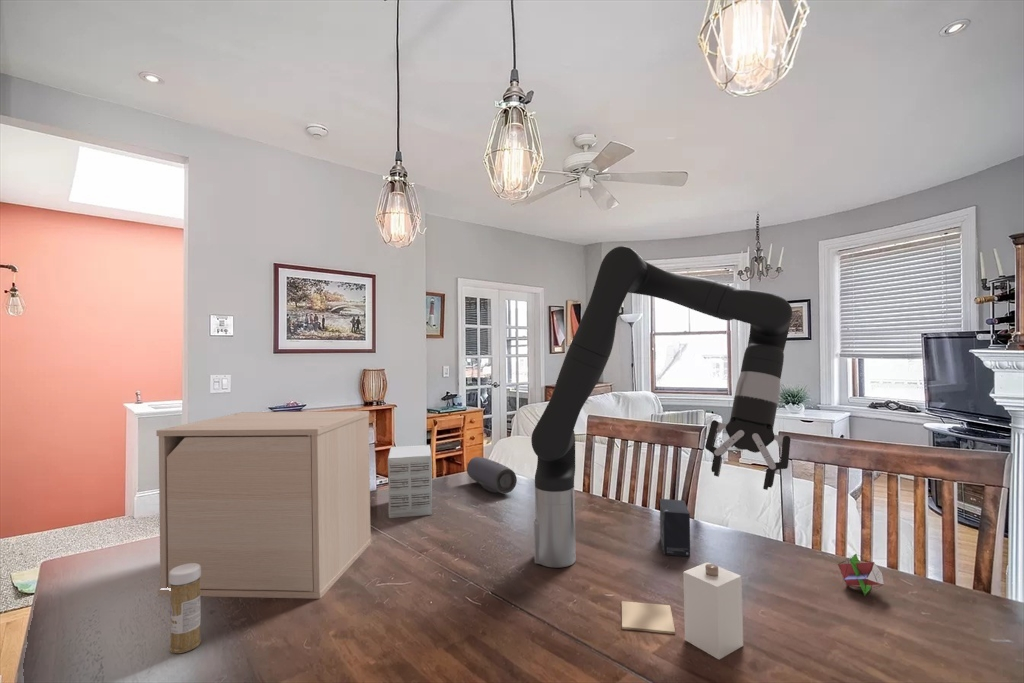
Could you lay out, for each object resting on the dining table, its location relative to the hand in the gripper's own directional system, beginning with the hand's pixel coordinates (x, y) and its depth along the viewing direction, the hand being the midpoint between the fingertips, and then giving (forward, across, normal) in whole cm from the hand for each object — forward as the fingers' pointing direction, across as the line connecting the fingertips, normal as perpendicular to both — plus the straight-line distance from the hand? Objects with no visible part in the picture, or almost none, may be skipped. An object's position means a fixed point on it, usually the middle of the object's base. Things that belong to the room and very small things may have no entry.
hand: (740, 482), depth 94 cm
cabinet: (+46, -91, -22) cm, 104 cm away
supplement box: (+35, -93, +24) cm, 102 cm away
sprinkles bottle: (+50, -75, -49) cm, 102 cm away
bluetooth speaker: (+27, -82, +52) cm, 101 cm away
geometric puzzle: (+15, +23, +24) cm, 37 cm away
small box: (+20, -14, +29) cm, 38 cm away
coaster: (+28, -11, -5) cm, 30 cm away
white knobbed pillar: (+26, +1, -8) cm, 28 cm away
